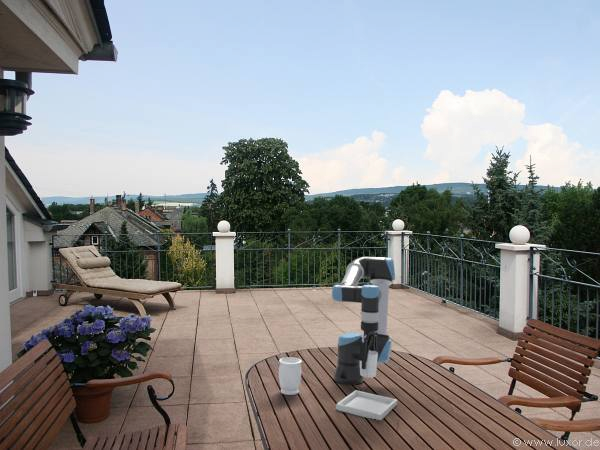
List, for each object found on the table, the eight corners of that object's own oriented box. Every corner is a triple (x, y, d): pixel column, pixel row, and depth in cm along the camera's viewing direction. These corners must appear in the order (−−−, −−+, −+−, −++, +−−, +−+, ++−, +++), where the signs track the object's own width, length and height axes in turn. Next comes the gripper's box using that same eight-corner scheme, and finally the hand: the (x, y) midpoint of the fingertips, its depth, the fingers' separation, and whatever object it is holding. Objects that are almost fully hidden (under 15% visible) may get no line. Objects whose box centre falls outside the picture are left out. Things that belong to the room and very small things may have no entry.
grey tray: (355, 395, 219) (355, 390, 219) (397, 405, 209) (397, 399, 209) (336, 409, 202) (336, 403, 202) (380, 421, 192) (380, 415, 192)
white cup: (376, 378, 200) (377, 355, 200) (358, 377, 202) (358, 353, 202) (377, 373, 208) (378, 350, 208) (359, 371, 210) (360, 349, 210)
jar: (303, 390, 224) (304, 358, 224) (296, 397, 214) (297, 364, 214) (282, 386, 228) (283, 355, 227) (274, 394, 218) (275, 361, 218)
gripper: (370, 316, 215) (369, 366, 216) (351, 324, 198) (350, 378, 198) (386, 318, 212) (384, 369, 212) (368, 326, 194) (366, 381, 194)
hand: (368, 373), depth 205 cm, fingers closed on white cup, 8 cm apart
